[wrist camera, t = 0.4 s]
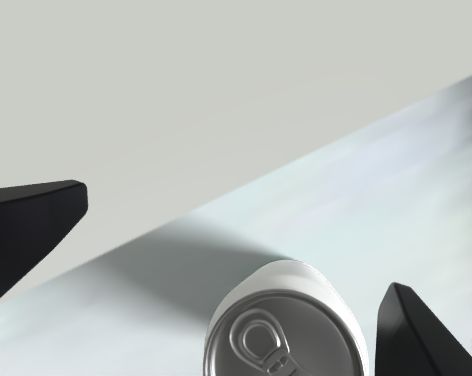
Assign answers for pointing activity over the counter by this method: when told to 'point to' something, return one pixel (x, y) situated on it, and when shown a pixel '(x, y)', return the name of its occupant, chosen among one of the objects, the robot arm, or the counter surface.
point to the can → (284, 327)
